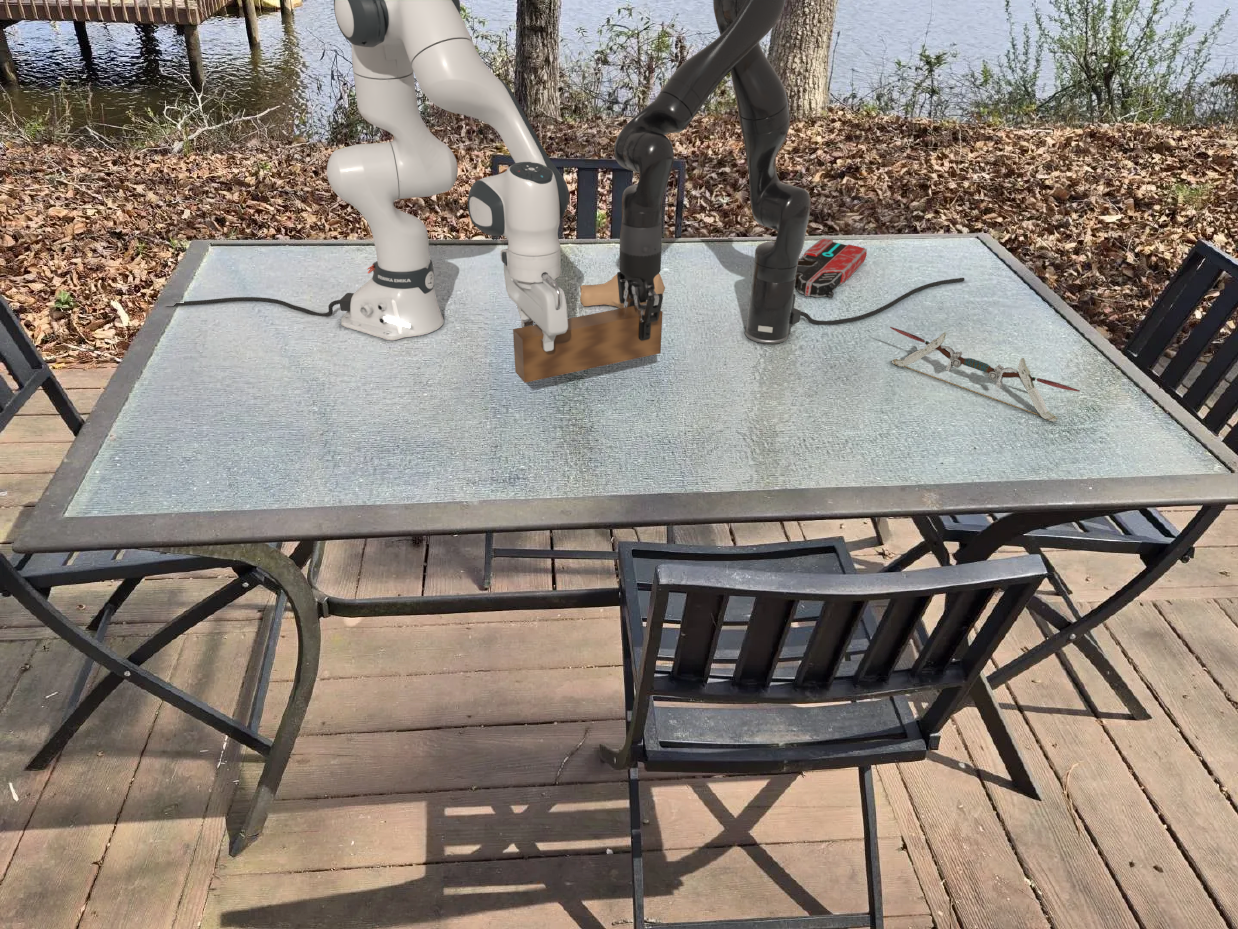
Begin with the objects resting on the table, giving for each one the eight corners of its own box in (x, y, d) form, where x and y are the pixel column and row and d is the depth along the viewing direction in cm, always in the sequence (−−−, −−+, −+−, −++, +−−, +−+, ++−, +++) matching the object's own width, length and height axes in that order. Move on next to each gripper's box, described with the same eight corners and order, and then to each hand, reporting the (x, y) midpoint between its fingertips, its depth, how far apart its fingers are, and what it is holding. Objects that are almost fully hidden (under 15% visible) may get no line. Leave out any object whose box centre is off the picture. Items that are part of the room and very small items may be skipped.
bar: (524, 382, 157) (522, 339, 152) (515, 371, 160) (512, 328, 156) (660, 353, 168) (662, 311, 163) (649, 343, 171) (650, 302, 166)
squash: (667, 316, 202) (664, 283, 196) (581, 324, 204) (575, 291, 198) (665, 291, 210) (662, 258, 204) (583, 298, 212) (577, 266, 205)
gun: (756, 267, 217) (831, 286, 209) (802, 230, 239) (871, 246, 231) (754, 284, 219) (828, 303, 212) (800, 246, 241) (868, 263, 233)
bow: (1069, 424, 166) (1086, 377, 160) (1066, 427, 164) (1083, 380, 159) (885, 357, 187) (894, 314, 181) (880, 360, 186) (890, 317, 180)
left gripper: (577, 282, 142) (577, 359, 150) (529, 243, 157) (532, 315, 165) (540, 288, 140) (543, 366, 147) (496, 248, 155) (500, 320, 162)
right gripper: (678, 256, 152) (673, 345, 162) (640, 231, 163) (637, 315, 173) (640, 263, 150) (637, 353, 159) (604, 236, 160) (603, 322, 170)
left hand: (537, 338), depth 156 cm, fingers open, 8 cm apart
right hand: (637, 333), depth 166 cm, fingers closed on bar, 4 cm apart
